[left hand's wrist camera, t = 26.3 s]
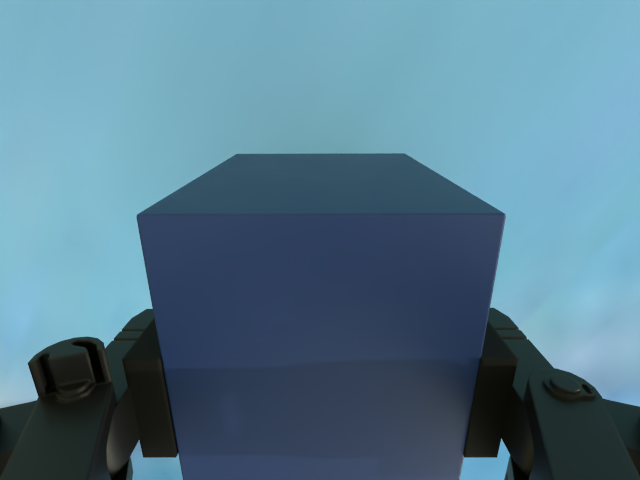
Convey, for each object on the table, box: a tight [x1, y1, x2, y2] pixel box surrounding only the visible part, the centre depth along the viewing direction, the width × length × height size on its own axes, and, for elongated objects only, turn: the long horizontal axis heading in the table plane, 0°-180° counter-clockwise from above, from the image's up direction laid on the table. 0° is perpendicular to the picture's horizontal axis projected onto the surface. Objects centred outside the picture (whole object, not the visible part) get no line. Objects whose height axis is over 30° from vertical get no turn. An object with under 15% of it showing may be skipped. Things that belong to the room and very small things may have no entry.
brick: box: [137, 154, 506, 480], centre depth 12 cm, size 7×9×8 cm
